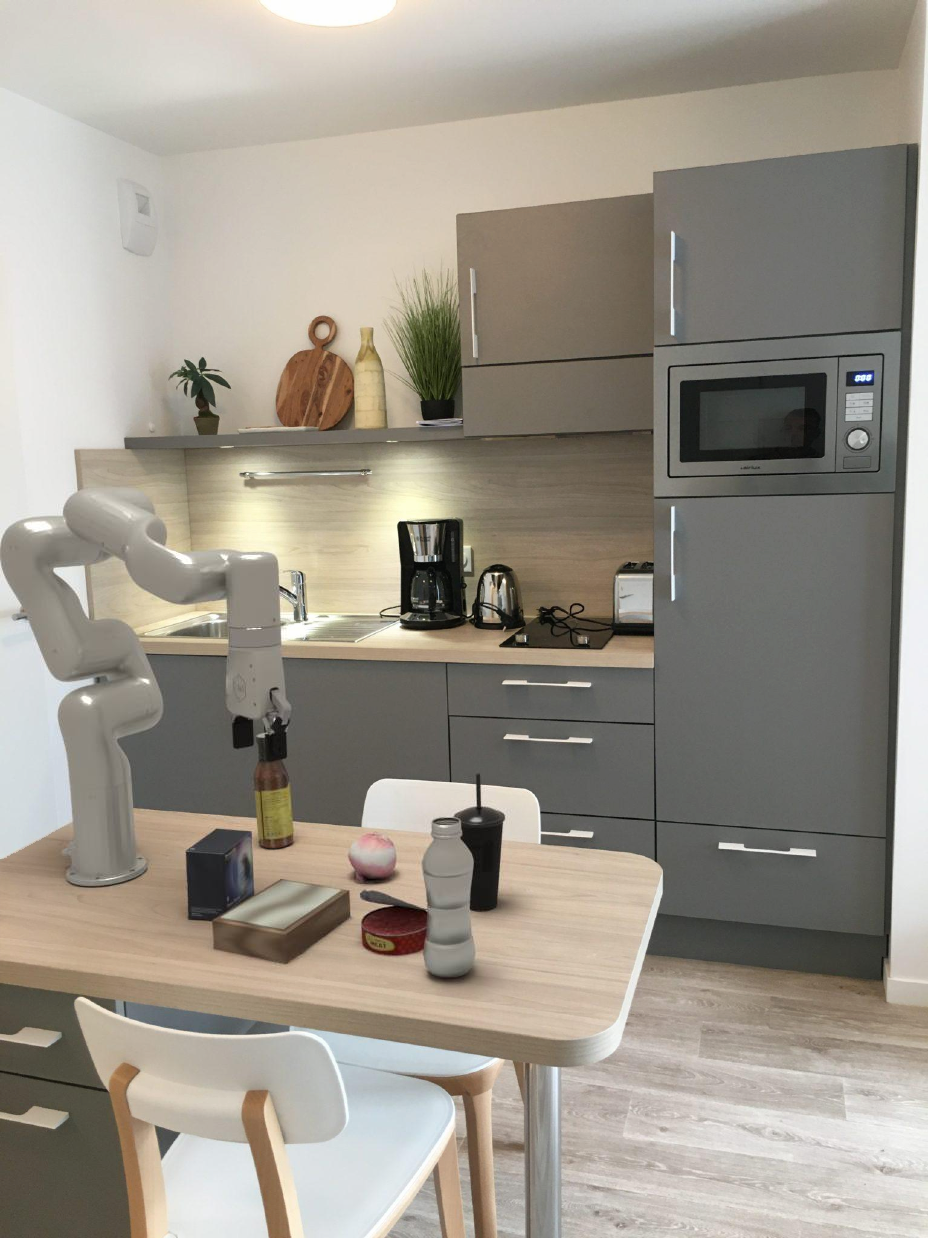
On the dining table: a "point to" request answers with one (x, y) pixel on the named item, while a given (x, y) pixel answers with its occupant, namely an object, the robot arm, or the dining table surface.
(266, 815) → the sauce bottle
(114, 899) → the dining table surface
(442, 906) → the plastic bottle
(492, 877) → the drinking cup
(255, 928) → the base
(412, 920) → the canned food
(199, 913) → the small box
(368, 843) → the onion
